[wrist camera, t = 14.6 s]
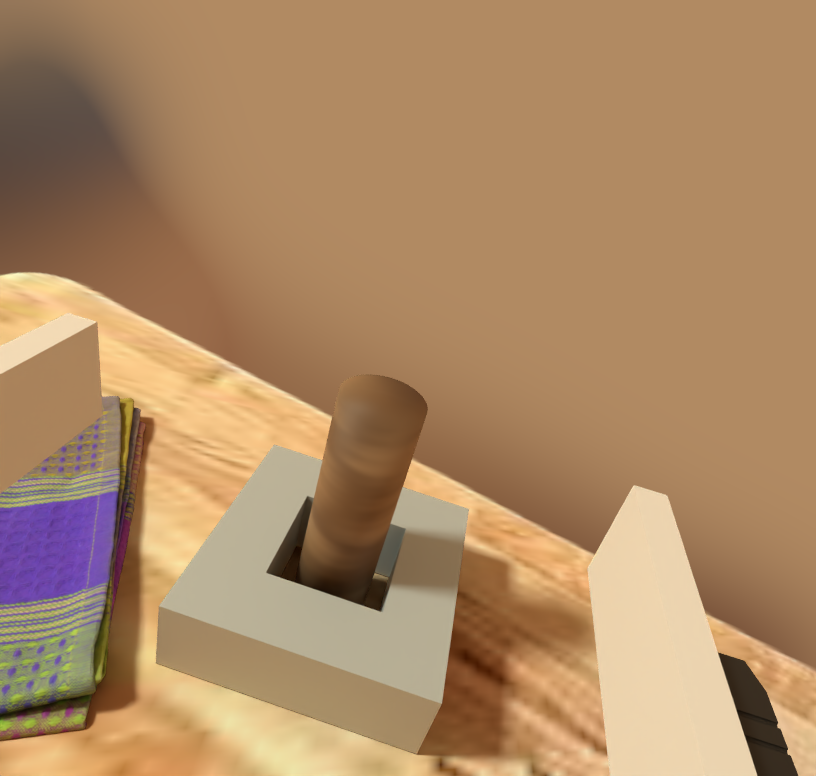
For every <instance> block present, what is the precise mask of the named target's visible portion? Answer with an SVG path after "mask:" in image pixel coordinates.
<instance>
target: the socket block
mask: <svg viewBox="0 0 816 776" xmlns="http://www.w3.org/2000/svg"><path fill="white" fill-rule="evenodd" d="M321 465H322V460H319V459H316V458H313V457H310V456H307V455H304V454H301V453H298V452H295V451H292V450H289V449H286V448H283V447H280V446H277V445H273V447H272V448H271V450H270V451H269V452H268V454H267V455H266V457H265V458H264V460H263V461H262V462H261V464H260V465H259V467H258V468H257V469H256V471H255V472H254V474H253V475H252V476H251V478H250V479H249V481H248V482H247V483H246V485H245V486H244V488H243V489H242V490H241V492H240V493H239V495H238V496H237V497H236V499H235V500H234V502H233V503H232V504H231V506H230V507H229V509H228V510H227V511H226V513H225V514H224V516H223V517H222V518H221V520H220V521H219V523H218V524H217V525H216V527H215V528H214V530H213V531H212V532H211V534H210V535H209V537H208V538H207V539H206V541H205V542H204V544H203V545H202V546H201V548H200V549H199V551H198V552H197V554H196V555H195V556H194V558H193V559H192V561H191V562H190V563H189V565H188V566H187V568H186V569H185V570H184V572H183V573H182V575H181V576H180V577H179V579H178V580H177V582H176V583H175V584H174V586H173V587H172V589H171V590H170V591H169V593H168V594H167V596H166V597H165V598H164V600H163V601H162V603H161V604H160V605H159V615H158V633H157V651H156V663H157V664H160V665H163V666H166V667H169V668H172V669H174V670H177V671H180V672H183V673H186V674H189V675H192V676H194V677H197V678H200V679H203V680H206V681H209V682H212V683H214V684H217V685H220V686H223V687H226V688H229V689H232V690H234V691H237V692H240V693H243V694H246V695H249V696H252V697H254V698H257V699H260V700H263V701H266V702H269V703H272V704H275V705H277V706H280V707H283V708H286V709H289V710H292V711H295V712H297V713H300V714H303V715H306V716H309V717H312V718H315V719H317V720H320V721H323V722H326V723H329V724H332V725H335V726H337V727H340V728H343V729H346V730H349V731H352V732H355V733H357V734H360V735H363V736H366V737H369V738H372V739H375V740H377V741H380V742H383V743H386V744H389V745H392V746H395V747H398V748H400V749H403V750H406V751H409V752H412V753H415V754H417V752H418V750H419V749H420V747H421V745H422V743H423V741H424V739H425V737H426V735H427V733H428V731H429V729H430V727H431V725H432V723H433V721H434V719H435V717H436V715H437V713H438V711H439V709H440V707H441V705H442V699H443V692H444V685H445V678H446V670H447V663H448V656H449V649H450V642H451V634H452V627H453V620H454V613H455V605H456V598H457V591H458V584H459V576H460V569H461V562H462V555H463V547H464V540H465V533H466V526H467V518H468V511H469V509H467V508H464V507H461V506H458V505H455V504H452V503H449V502H446V501H443V500H440V499H437V498H434V497H431V496H428V495H425V494H422V493H419V492H416V491H413V490H410V489H407V488H404V487H402V490H401V493H400V496H399V499H398V503H397V506H396V509H395V512H394V515H393V518H392V521H391V524H390V527H389V530H388V533H387V536H386V539H385V542H384V545H383V548H382V551H381V554H380V557H379V560H378V563H377V566H376V569H375V573H378V574H381V575H384V576H387V577H389V579H388V582H387V586H386V589H385V593H384V596H383V600H382V603H381V607H380V611H377V610H374V609H371V608H368V607H365V606H362V605H359V604H356V603H353V602H350V601H347V600H344V599H341V598H339V597H336V596H333V595H330V594H327V593H324V592H321V591H318V590H315V589H312V588H309V587H306V586H303V585H300V584H297V583H295V582H292V581H289V580H286V579H283V578H280V577H281V575H282V573H283V571H284V569H285V567H286V565H287V563H288V561H289V559H290V557H291V555H292V553H293V551H294V549H295V547H296V546H298V547H301V548H302V547H303V543H304V539H305V534H306V530H307V526H308V521H309V517H310V513H311V508H312V504H313V500H314V495H315V491H316V486H317V482H318V478H319V473H320V469H321Z"/></svg>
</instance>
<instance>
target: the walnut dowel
mask: <svg viewBox="0 0 816 776" xmlns="http://www.w3.org/2000/svg"><path fill="white" fill-rule="evenodd" d="M427 410H428V409H427V404H426V402H425V400H424V398H423V397H422V396H421V395H420V394H419V393H418V392H417V391H416V390H415V389H413V388H411V387H410V386H409V385H407V384H405V383H403V382H400V381H398V380H395V379H392V378H389V377H385V376H380V375H357V376H354V377H350V378H348V379H346V380H345V381H344V382H342V384H341V385H340V387H339V391H338V395H337V400H336V404H335V408H334V412H333V417H332V421H331V426H330V430H329V434H328V439H327V443H326V447H325V452H324V456H323V460H322V465H321V469H320V473H319V478H318V482H317V486H316V491H315V495H314V500H313V504H312V508H311V513H310V517H309V521H308V526H307V530H306V534H305V539H304V543H303V547H302V552H301V556H300V560H299V565H298V569H297V574H296V578H295V583H297V584H300V585H303V586H306V587H309V588H312V589H315V590H318V591H321V592H324V593H327V594H330V595H333V596H336V597H339V598H341V599H344V600H347V601H350V602H353V603H356V604H359V605H362V606H364V603H365V600H366V597H367V594H368V590H369V587H370V584H371V581H372V578H373V575H374V572H375V569H376V566H377V563H378V560H379V557H380V554H381V551H382V548H383V545H384V542H385V539H386V536H387V533H388V530H389V527H390V524H391V521H392V518H393V515H394V512H395V509H396V506H397V503H398V499H399V496H400V493H401V490H402V487H403V484H404V481H405V478H406V475H407V472H408V469H409V466H410V463H411V460H412V457H413V454H414V451H415V448H416V445H417V442H418V439H419V436H420V433H421V430H422V427H423V423H424V421H425V417H426V415H427Z"/></svg>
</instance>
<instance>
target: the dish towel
mask: <svg viewBox="0 0 816 776" xmlns="http://www.w3.org/2000/svg"><path fill="white" fill-rule="evenodd" d="M102 412H103V416H101V417H100V418H99V419H98V420H96V421H95V422H94V423H92V424H91V425H90V426H88V427H87V428H86V429H84V430H83V431H82V432H81V433H79V434H78V435H77V436H75V437H74V438H73V439H71V440H70V441H69V442H67V443H66V444H65V445H63V446H62V447H61V448H60V449H58V450H57V451H56V452H54V453H53V454H52V455H50V456H49V457H48V458H46V459H45V460H44V461H43V462H41V463H40V464H39V465H37V466H36V467H35V468H33V469H32V470H31V471H29V472H28V473H27V474H26V475H24V476H23V477H22V478H20V479H19V480H18V481H16V482H15V483H14V484H12V485H11V486H10V487H8V488H7V489H6V490H5V491H3V492H2V493H1V494H0V740H6V739H11V738H20V737H29V736H35V735H44V734H55V733H61V732H67V731H74V730H82V729H84V728H86V725H87V724H86V722H85V721H86V716H87V713H88V711H89V705H90V702H91V698H92V694H93V693H95V691H96V687H97V684H98V683H100V682H101V681H102V679H103V677H104V676H105V673H106V662H107V655H108V635H109V631H110V625H111V618H112V612H113V605H114V600H115V596H116V592H117V587H118V583H119V579H120V574H121V570H122V567H123V561H124V557H125V552H126V547H127V542H128V536H129V531H130V524H131V520H132V515H133V511H134V501H135V493H136V484H137V479H138V473H139V470H140V463H141V455H142V446H143V444H144V442H143V433H144V431H145V428H146V424H145V423H143V422H140V412H141V410H140V409H138V408H134V400H133V399H131V398H126V399H120V398H119V397H118V396H109V397H102Z"/></svg>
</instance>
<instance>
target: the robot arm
mask: <svg viewBox="0 0 816 776" xmlns="http://www.w3.org/2000/svg"><path fill="white" fill-rule="evenodd" d="M101 416H103V412H102V395H101V377H100V360H99V343H98V326H97V322H96V321H93V320H89V319H86V318H83V317H80V316H76V315H73V314H70V313H67V314H65V315H63V316H61V317H59V318H56V319H54V320H52V321H50V322H48V323H46V324H44V325H42V326H40V327H38V328H36V329H34V330H32V331H30V332H28V333H26V334H24V335H22V336H20V337H17V338H15V339H13V340H11V341H9V342H7V343H5V344H3V345H1V346H0V494H1V493H2V492H3V491H5V490H6V489H7V488H8V487H10V486H11V485H12V484H14V483H15V482H16V481H18V480H19V479H20V478H22V477H23V476H24V475H26V474H27V473H28V472H29V471H31V470H32V469H33V468H35V467H36V466H37V465H39V464H40V463H41V462H43V461H44V460H45V459H46V458H48V457H49V456H50V455H52V454H53V453H54V452H56V451H57V450H58V449H60V448H61V447H62V446H63V445H65V444H66V443H67V442H69V441H70V440H71V439H73V438H74V437H75V436H77V435H78V434H79V433H81V432H82V431H83V430H84V429H86V428H87V427H88V426H90V425H91V424H92V423H94V422H95V421H96V420H98V419H99V418H100V417H101ZM588 577H589V587H590V596H591V605H592V614H593V624H594V633H595V642H596V651H597V660H598V670H599V679H600V688H601V697H602V707H603V716H604V725H605V734H606V744H607V753H608V762H609V771H610V776H798V774H797V771H796V768H795V766H794V763H793V761H792V758H791V756H790V755H788V754H787V750H788V747H787V745H786V742H785V740H784V737H783V734H782V732H781V729H779V728H777V724H778V721H777V719H776V716H775V713H774V711H773V708H772V706H771V703H770V700H769V698H768V695H767V692H766V691H765V689H764V688H763V686H762V685H761V683H760V682H759V681H758V679H757V678H756V676H755V675H754V674H753V672H752V671H751V669H750V668H749V667H748V665H747V664H746V662H745V661H743V660H740V659H737V658H734V657H730V656H727V655H724V654H721V653H718V652H717V649H716V646H715V642H714V639H713V636H712V633H711V630H710V627H709V624H708V621H707V618H706V614H705V611H704V608H703V605H702V602H701V599H700V596H699V593H698V590H697V586H696V583H695V580H694V577H693V574H692V571H691V568H690V565H689V562H688V559H687V556H686V552H685V549H684V546H683V543H682V540H681V537H680V534H679V531H678V528H677V524H676V521H675V518H674V515H673V512H672V509H671V506H670V503H669V500H668V496H667V495H664V494H661V493H657V492H654V491H651V490H648V489H645V488H641V487H638V486H635V485H634V486H633V488H632V489H631V491H630V493H629V495H628V497H627V498H626V500H625V502H624V504H623V505H622V507H621V509H620V511H619V513H618V514H617V516H616V518H615V520H614V522H613V524H612V525H611V527H610V529H609V531H608V532H607V534H606V536H605V538H604V540H603V541H602V543H601V545H600V547H599V549H598V550H597V552H596V554H595V556H594V558H593V559H592V561H591V563H590V565H589V566H588Z"/></svg>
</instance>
